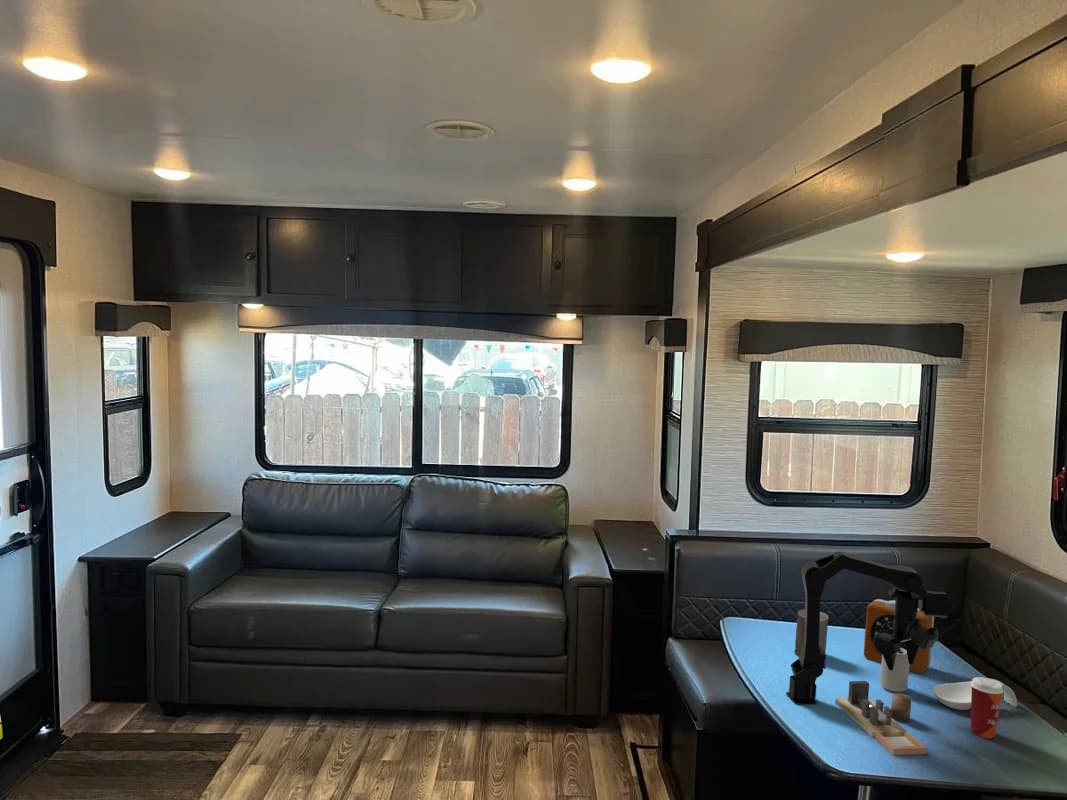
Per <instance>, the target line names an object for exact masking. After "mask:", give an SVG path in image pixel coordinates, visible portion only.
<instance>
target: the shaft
mask: <svg viewBox="0 0 1067 800" xmlns="http://www.w3.org/2000/svg"><path fill="white" fill-rule="evenodd" d="M869 691H870V683H869V682H868V681H867V680H850V681H849V684H848V697H847V698H848V701H849V702H850V703H851V704H860V705H861V706H862V700H867V701H868V702H869V703H870V707H875V708H876V709H877V710H878V717H877V720H878V721H879V722H881V723H882V724H884V723H886V722H887V721H888V717H887V716H886V715H885V714H884V713H883V712H882V711H880V710H879V709H878V708H877V707H876V706H875V705H873V704H872V703H871V702H870V701H869V700H868V698H869V694H870V693H869ZM869 713H870V708H869Z"/></svg>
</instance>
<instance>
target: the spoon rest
mask: <svg viewBox="0 0 1067 800" xmlns="http://www.w3.org/2000/svg"><path fill="white" fill-rule="evenodd" d="M991 679H992V680H995V681H997V682H999V683H1000V684H1001V685H1002V688H1003V690H1004V692H1003V700H1004V702H1005V703H1007V704H1008V703H1009V705H1010V706H1012V707H1014V708H1016V707H1017V708H1018V700H1017V697H1016V694H1015V692H1014V690H1012V689H1011V687H1009V686H1008V685H1006V684H1004V683H1003V682H1001V681H1000V680H997V679H993V678H991ZM971 682H972V680H971V681H961V682H950V683H949V682H948V683H942V684H939V685H938V684H937V685H935V686H934V687H933V689H932V690H933V691H932V692H933V695H934V696H935V697H936V698H937V700H938V701H939V702H940V703H942V704H943V705H945V706H946V707H949V708H951V709H954V710H957V711H967V710H971V694H972V686H971V684H970V683H971Z"/></svg>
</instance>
